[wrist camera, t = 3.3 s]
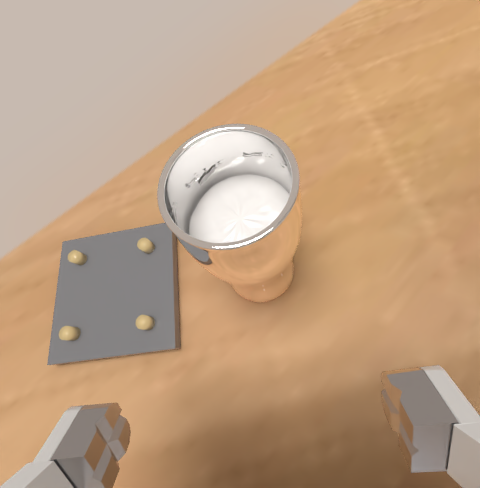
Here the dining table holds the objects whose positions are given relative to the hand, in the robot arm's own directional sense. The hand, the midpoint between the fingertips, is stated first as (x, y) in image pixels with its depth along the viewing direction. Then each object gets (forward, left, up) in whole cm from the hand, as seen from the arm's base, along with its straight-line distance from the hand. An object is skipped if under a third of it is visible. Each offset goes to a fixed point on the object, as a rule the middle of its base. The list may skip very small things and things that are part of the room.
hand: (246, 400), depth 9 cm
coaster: (+14, -9, -16) cm, 23 cm away
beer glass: (0, -9, -16) cm, 18 cm away
